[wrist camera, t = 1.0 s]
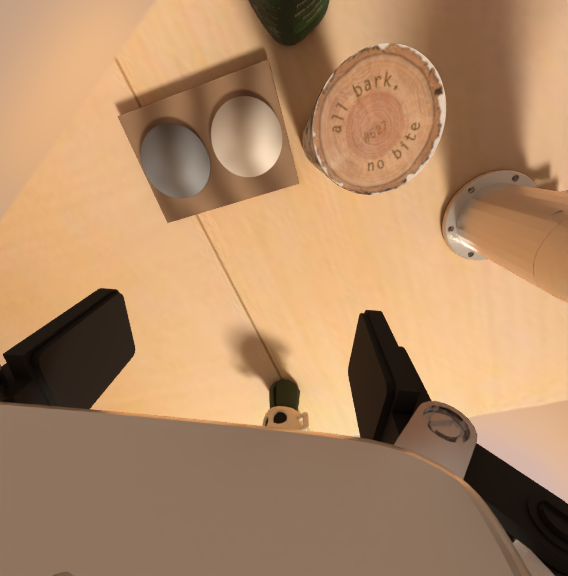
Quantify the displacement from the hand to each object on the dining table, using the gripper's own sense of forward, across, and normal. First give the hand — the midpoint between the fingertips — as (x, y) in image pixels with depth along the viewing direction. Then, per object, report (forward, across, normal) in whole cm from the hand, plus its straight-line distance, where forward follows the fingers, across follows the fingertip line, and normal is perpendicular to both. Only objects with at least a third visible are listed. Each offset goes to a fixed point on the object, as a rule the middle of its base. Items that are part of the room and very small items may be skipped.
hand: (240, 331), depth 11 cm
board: (+32, +10, -6) cm, 35 cm away
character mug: (+33, -2, +38) cm, 50 cm away
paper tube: (+33, -5, -8) cm, 34 cm away
